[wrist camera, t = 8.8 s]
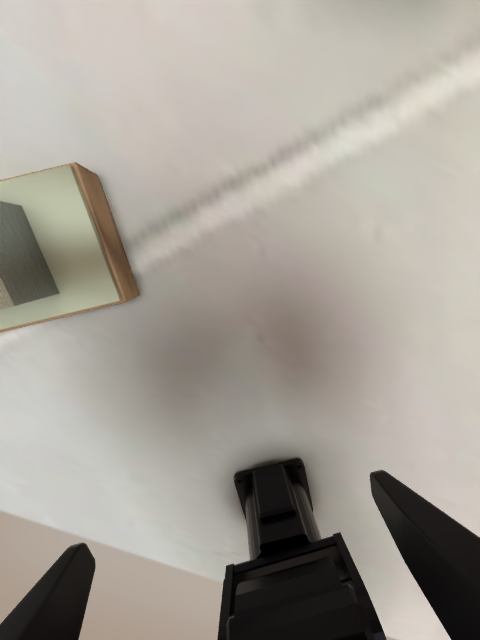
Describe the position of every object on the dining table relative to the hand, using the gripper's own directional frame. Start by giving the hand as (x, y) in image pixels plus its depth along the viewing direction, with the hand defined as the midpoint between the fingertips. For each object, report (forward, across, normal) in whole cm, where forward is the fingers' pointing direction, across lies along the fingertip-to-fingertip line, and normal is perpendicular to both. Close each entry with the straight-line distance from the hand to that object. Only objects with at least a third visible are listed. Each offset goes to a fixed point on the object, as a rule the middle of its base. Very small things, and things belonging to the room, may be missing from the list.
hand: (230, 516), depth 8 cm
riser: (+13, +11, -10) cm, 20 cm away
